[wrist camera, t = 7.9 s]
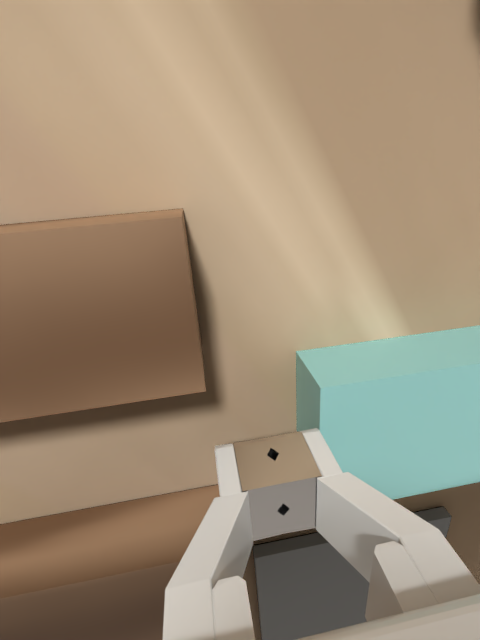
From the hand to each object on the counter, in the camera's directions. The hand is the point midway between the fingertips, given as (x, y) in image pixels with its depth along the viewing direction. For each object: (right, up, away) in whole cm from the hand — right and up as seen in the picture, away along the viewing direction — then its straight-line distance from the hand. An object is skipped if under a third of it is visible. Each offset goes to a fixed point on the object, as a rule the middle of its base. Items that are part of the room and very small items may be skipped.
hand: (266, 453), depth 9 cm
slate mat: (+5, -10, +7) cm, 13 cm away
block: (+5, +1, +3) cm, 6 cm away
